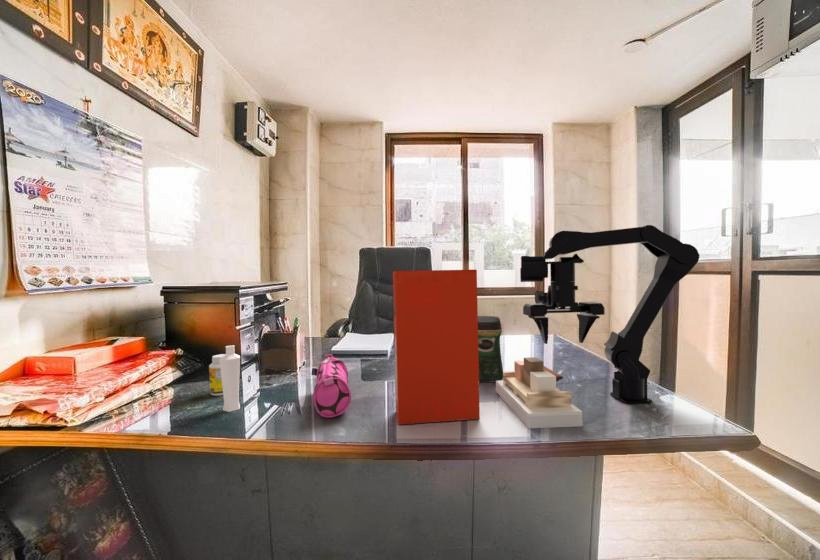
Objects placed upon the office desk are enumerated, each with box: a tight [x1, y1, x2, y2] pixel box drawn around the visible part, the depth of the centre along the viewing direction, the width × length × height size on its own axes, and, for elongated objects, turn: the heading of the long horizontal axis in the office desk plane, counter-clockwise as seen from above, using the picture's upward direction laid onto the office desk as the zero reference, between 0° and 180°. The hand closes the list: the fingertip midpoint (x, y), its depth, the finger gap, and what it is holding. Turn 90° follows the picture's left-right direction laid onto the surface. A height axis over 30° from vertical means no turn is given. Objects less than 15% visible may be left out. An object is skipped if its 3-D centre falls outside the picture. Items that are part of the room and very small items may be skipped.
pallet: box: [502, 356, 572, 409], centre depth 82 cm, size 9×17×8 cm, turn 3°
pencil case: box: [311, 353, 352, 419], centre depth 87 cm, size 21×10×10 cm, turn 15°
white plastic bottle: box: [219, 344, 241, 413], centre depth 84 cm, size 5×4×15 cm
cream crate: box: [530, 371, 557, 392], centre depth 77 cm, size 4×4×4 cm
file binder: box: [392, 269, 481, 425], centre depth 78 cm, size 8×17×32 cm, turn 97°
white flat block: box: [495, 379, 583, 430], centre depth 82 cm, size 11×22×3 cm, turn 3°
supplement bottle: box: [208, 353, 226, 397], centre depth 96 cm, size 6×6×10 cm
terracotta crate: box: [513, 360, 524, 382], centre depth 87 cm, size 4×4×4 cm
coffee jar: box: [478, 315, 504, 383], centre depth 104 cm, size 10×8×19 cm
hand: (563, 343), depth 90 cm, fingers open, 9 cm apart
